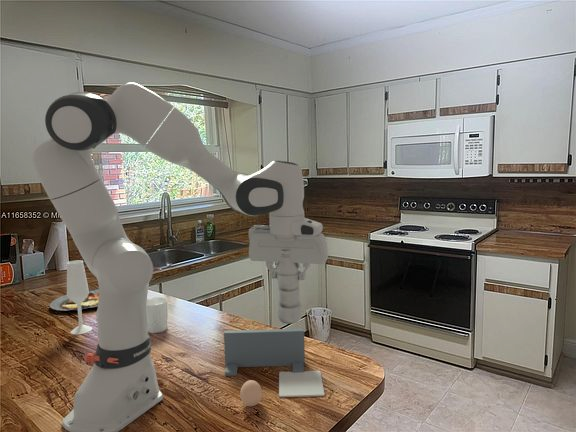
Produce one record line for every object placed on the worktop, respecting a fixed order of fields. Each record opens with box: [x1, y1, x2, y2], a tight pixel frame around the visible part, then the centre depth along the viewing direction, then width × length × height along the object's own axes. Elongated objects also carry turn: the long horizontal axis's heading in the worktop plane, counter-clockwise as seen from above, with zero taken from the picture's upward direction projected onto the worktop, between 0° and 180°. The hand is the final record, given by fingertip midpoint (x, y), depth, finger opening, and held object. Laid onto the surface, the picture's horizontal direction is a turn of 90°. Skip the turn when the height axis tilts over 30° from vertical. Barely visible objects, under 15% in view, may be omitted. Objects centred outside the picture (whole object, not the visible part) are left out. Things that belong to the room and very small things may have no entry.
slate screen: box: [223, 328, 306, 377], centre depth 110 cm, size 6×22×10 cm, turn 91°
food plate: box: [49, 288, 99, 311], centre depth 166 cm, size 25×23×4 cm
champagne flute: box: [66, 259, 93, 335], centre depth 137 cm, size 7×7×24 cm
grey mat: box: [278, 370, 326, 398], centre depth 103 cm, size 11×11×1 cm
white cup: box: [146, 296, 169, 334], centre depth 138 cm, size 8×8×10 cm
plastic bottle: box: [274, 250, 303, 325], centre depth 104 cm, size 6×7×20 cm
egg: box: [239, 379, 263, 407], centre depth 94 cm, size 5×5×6 cm
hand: (288, 278), depth 104 cm, fingers closed on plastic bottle, 6 cm apart
